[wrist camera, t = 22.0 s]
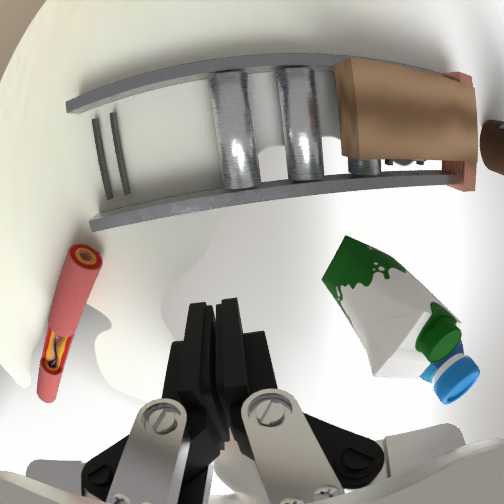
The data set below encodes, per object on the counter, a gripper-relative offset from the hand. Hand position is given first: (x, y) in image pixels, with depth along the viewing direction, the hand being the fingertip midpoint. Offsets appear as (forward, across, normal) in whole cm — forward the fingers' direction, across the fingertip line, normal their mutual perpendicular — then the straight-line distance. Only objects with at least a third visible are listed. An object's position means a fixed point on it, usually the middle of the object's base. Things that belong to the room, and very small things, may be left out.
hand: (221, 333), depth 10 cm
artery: (+25, +33, +18) cm, 45 cm away
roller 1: (+23, -2, -8) cm, 25 cm away
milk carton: (+24, -17, +11) cm, 32 cm away
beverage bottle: (+25, -27, +21) cm, 42 cm away
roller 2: (+23, -9, -8) cm, 26 cm away
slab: (+20, -23, -9) cm, 31 cm away
